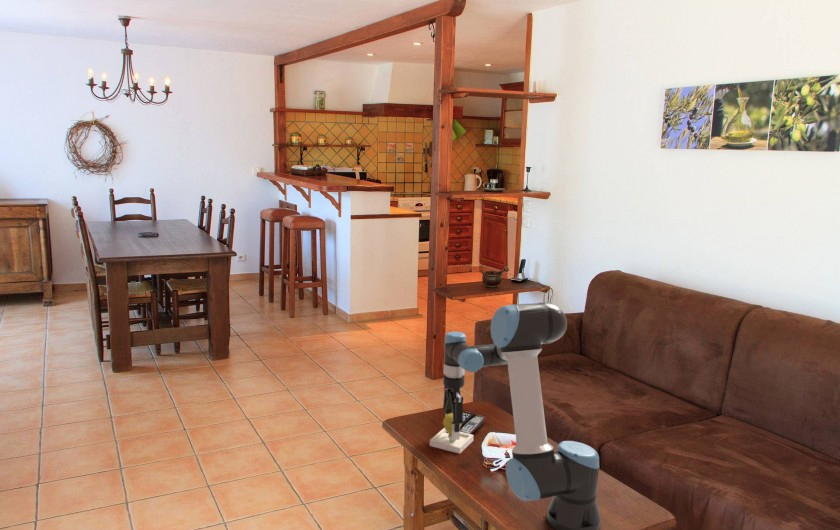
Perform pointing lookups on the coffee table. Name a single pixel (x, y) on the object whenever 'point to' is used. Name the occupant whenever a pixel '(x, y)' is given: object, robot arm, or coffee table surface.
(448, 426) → the light bulb
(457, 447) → the tray
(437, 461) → the coffee table surface
